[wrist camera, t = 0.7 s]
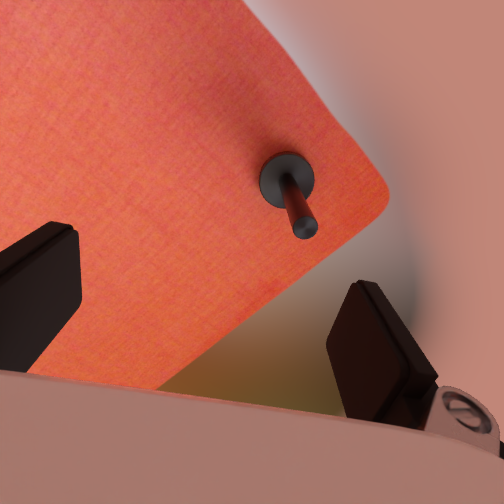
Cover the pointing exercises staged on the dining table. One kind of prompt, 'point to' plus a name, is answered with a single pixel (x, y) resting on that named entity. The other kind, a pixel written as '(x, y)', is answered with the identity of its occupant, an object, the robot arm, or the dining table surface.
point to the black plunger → (290, 190)
